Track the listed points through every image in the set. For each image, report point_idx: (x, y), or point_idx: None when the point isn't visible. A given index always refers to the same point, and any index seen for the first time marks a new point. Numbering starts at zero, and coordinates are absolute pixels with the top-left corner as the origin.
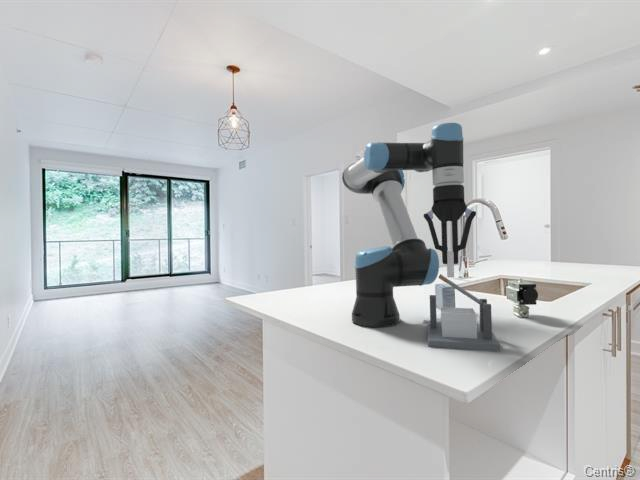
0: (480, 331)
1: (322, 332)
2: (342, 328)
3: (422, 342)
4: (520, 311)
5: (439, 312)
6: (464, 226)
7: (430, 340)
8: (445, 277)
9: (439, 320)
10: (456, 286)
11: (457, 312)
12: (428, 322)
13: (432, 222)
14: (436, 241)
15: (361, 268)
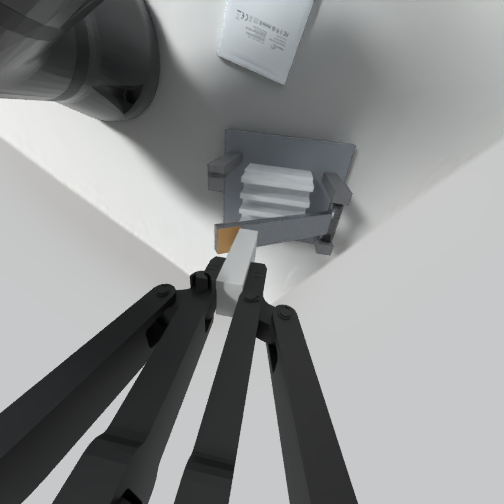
0: (322, 178)
1: (51, 163)
2: (67, 133)
3: (217, 208)
4: None
5: None
6: (298, 463)
7: None
8: (234, 232)
9: (259, 54)
10: (263, 244)
11: (270, 217)
12: (231, 61)
13: (41, 479)
14: (151, 345)
15: None
